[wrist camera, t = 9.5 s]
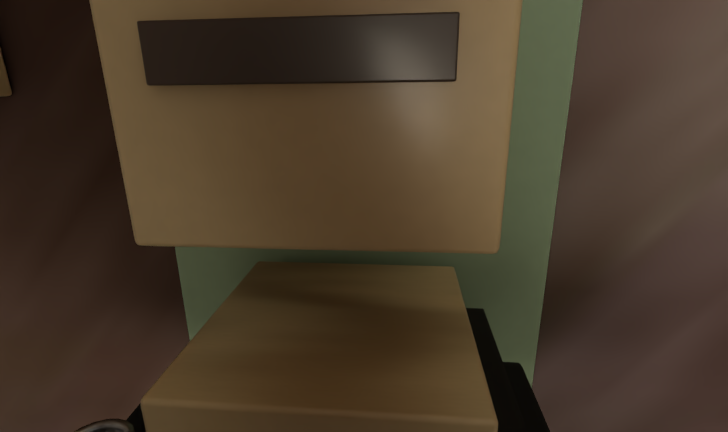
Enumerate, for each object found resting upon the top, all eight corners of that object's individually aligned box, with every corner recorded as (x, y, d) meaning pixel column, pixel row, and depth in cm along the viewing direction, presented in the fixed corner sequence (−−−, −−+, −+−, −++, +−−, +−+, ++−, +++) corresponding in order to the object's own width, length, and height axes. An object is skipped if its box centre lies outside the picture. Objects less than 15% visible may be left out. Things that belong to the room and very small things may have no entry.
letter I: (255, 175, 10) (124, 253, 6) (234, -49, 9) (29, -216, 4) (454, 176, 10) (504, 263, 5) (467, -60, 9) (555, -262, 4)
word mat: (213, 448, 14) (207, 458, 14) (64, -516, 7) (46, -548, 7) (516, 468, 13) (519, 480, 13) (654, -606, 6) (670, -651, 6)
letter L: (272, 417, 12) (180, 648, 7) (256, 259, 11) (127, 411, 6) (445, 428, 12) (476, 682, 7) (454, 265, 10) (503, 435, 5)
